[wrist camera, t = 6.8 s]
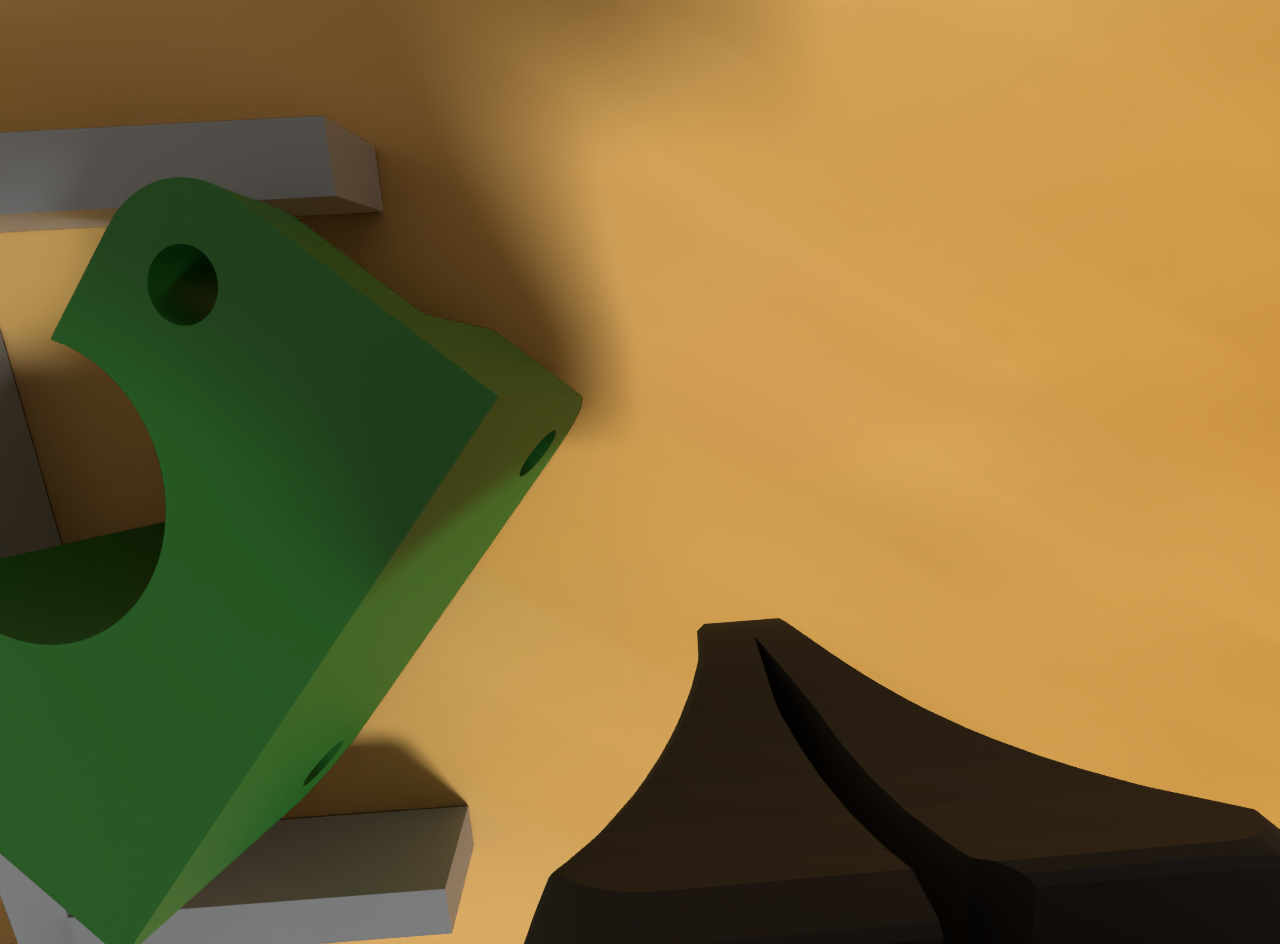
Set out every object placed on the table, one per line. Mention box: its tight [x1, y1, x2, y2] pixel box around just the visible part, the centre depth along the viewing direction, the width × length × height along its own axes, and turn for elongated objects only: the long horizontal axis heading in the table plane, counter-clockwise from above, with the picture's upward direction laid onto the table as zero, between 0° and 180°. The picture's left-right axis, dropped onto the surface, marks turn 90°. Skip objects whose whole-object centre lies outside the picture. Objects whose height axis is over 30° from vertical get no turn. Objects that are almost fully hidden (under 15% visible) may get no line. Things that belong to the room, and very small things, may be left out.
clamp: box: [0, 177, 583, 944], centre depth 13 cm, size 12×6×9 cm, turn 138°
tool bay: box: [0, 116, 474, 944], centre depth 14 cm, size 9×16×2 cm, turn 3°
